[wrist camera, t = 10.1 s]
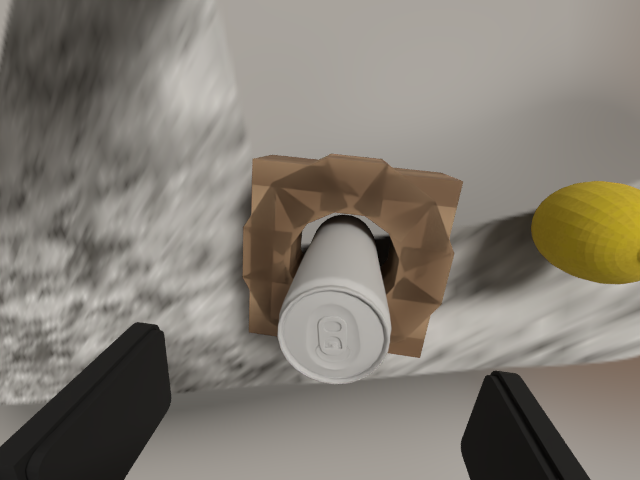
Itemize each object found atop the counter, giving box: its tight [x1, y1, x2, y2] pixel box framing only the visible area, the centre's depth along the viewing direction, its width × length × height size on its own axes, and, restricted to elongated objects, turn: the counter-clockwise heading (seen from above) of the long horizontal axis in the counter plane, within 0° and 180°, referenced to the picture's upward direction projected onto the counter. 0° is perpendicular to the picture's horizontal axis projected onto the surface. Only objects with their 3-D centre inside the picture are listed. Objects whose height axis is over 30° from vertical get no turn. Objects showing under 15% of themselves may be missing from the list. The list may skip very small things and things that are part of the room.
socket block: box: [242, 154, 463, 358], centre depth 21 cm, size 13×13×4 cm
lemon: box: [531, 181, 640, 284], centre depth 18 cm, size 6×6×8 cm
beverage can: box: [278, 215, 391, 384], centre depth 18 cm, size 5×5×12 cm
